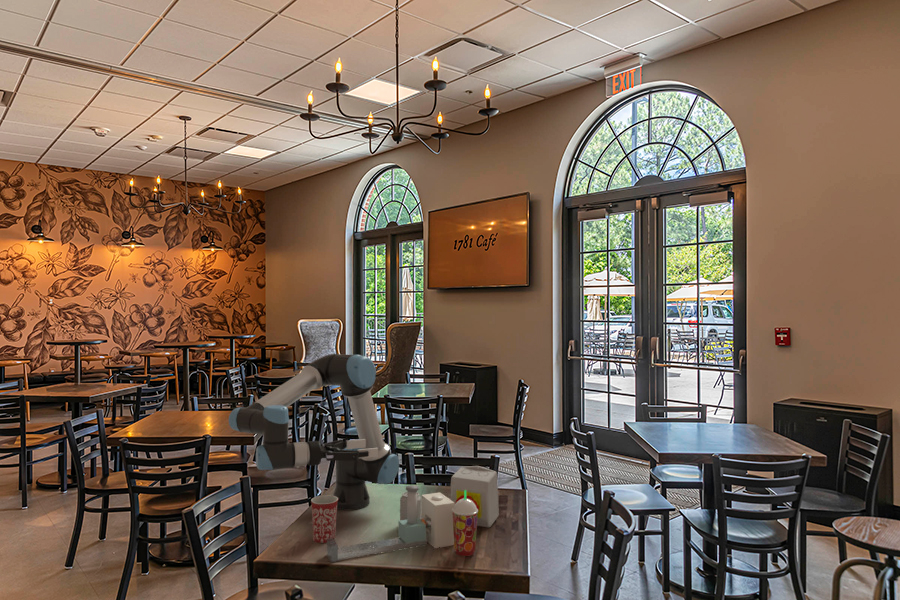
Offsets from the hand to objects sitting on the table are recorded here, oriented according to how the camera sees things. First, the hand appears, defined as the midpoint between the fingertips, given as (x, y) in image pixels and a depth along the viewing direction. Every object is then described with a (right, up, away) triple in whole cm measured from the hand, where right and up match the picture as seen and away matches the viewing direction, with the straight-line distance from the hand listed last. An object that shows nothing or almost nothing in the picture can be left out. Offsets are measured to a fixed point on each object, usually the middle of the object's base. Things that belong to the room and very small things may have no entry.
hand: (371, 447), depth 199 cm
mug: (-16, -32, +5) cm, 36 cm away
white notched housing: (+22, -32, +3) cm, 39 cm away
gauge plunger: (+21, -28, +3) cm, 35 cm away
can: (+12, -33, +15) cm, 38 cm away
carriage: (+14, -30, -1) cm, 33 cm away
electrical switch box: (+35, -33, +19) cm, 51 cm away
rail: (+3, -32, -6) cm, 33 cm away
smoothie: (+31, -32, -7) cm, 45 cm away
